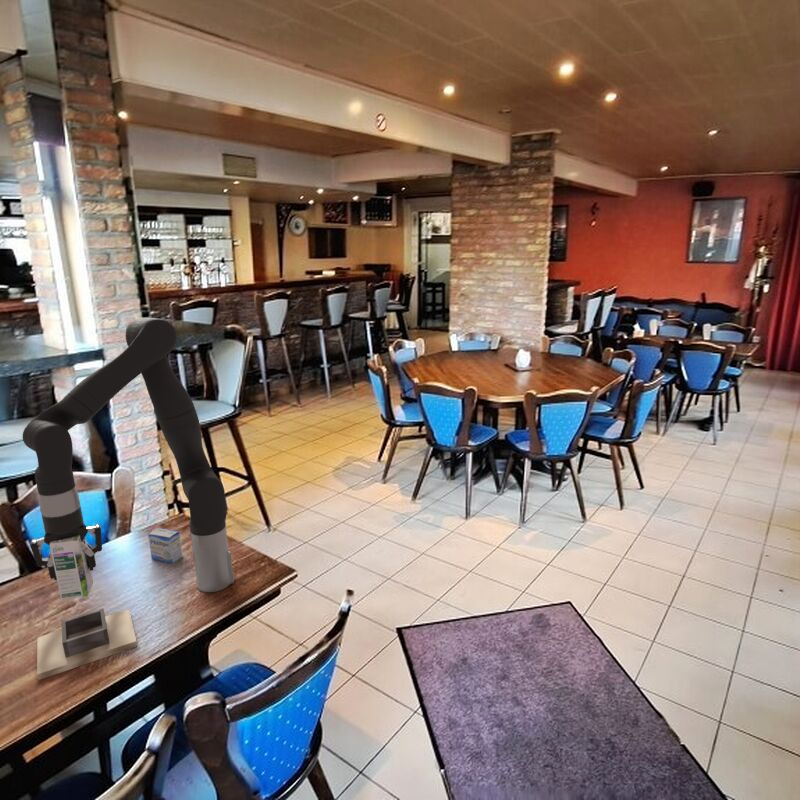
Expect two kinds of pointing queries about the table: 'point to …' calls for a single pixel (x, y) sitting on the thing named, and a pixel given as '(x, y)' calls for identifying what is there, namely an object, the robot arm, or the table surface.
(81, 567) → the syrup box
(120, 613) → the socket stand
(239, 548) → the table surface
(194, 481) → the robot arm
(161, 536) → the medicine box
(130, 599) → the table surface
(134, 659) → the table surface
